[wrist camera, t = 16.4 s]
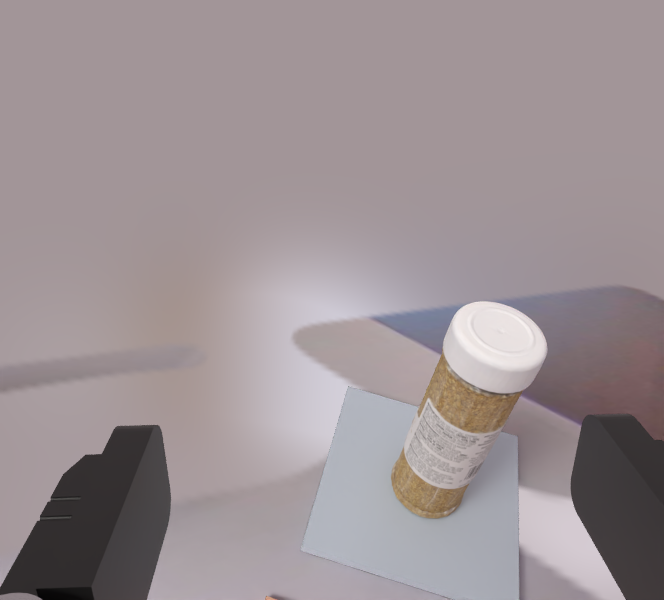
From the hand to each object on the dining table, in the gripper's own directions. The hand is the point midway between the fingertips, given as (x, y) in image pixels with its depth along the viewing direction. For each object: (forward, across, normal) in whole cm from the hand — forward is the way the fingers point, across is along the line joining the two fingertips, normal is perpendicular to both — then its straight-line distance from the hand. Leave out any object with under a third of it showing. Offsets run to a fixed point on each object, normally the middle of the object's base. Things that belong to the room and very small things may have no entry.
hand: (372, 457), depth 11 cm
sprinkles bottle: (+19, -6, +18) cm, 27 cm away
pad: (+19, -5, +18) cm, 27 cm away
